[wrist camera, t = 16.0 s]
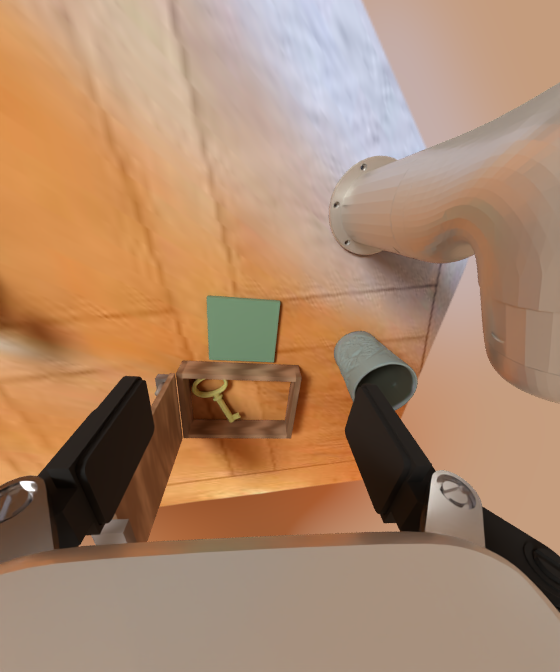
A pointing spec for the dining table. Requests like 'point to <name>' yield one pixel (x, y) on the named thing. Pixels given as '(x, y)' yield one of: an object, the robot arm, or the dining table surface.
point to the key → (216, 398)
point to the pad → (242, 328)
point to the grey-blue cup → (374, 368)
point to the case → (163, 447)
